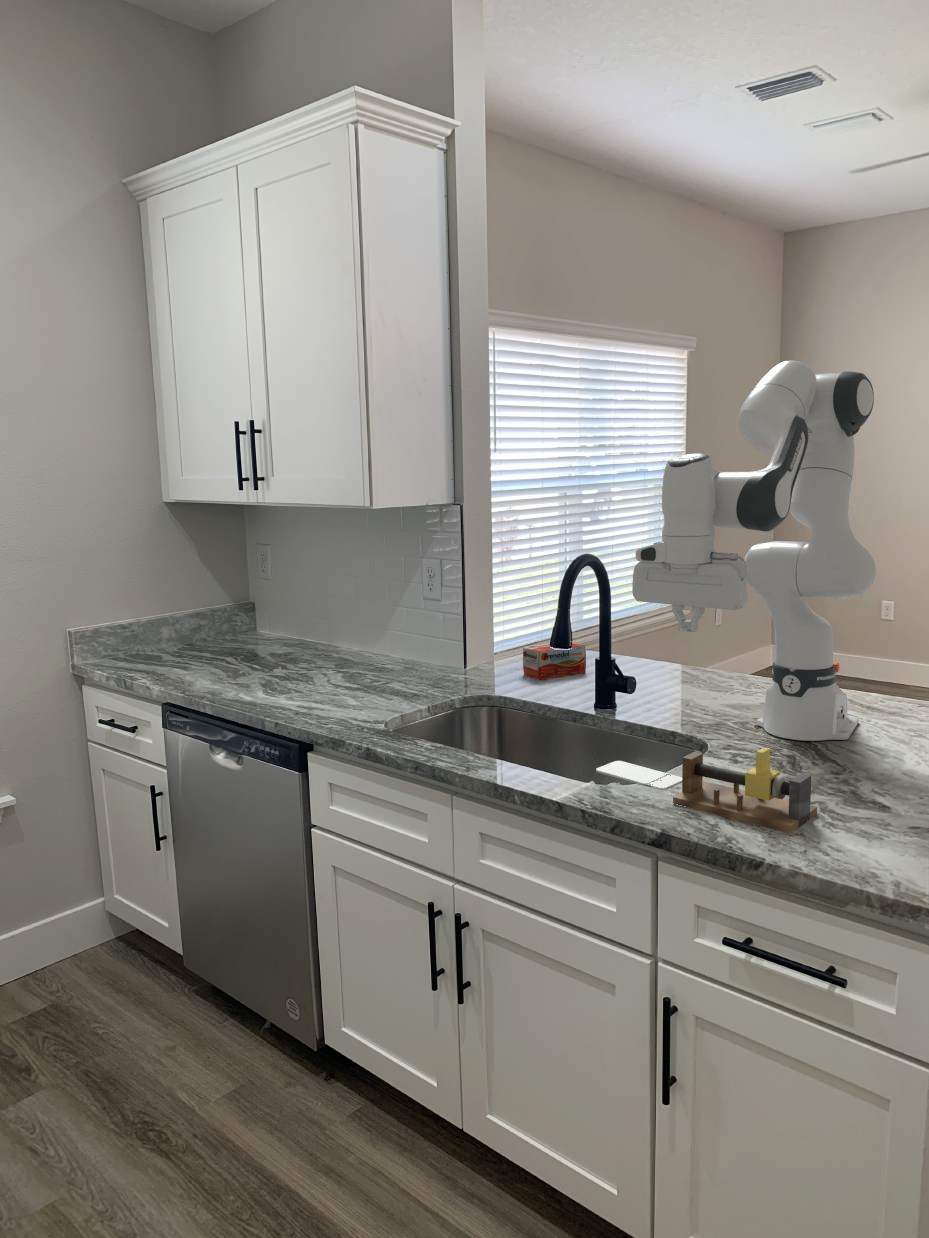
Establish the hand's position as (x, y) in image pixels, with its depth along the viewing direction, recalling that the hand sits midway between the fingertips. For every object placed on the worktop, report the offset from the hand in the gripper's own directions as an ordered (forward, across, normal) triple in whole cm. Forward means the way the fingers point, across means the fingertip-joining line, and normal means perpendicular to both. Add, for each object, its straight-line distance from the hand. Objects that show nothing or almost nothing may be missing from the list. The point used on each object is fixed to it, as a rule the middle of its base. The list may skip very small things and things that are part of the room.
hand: (688, 630), depth 162 cm
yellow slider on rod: (+27, -14, +8) cm, 31 cm away
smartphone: (+27, +8, +4) cm, 29 cm away
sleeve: (+23, -17, +8) cm, 30 cm away
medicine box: (+29, +67, -53) cm, 90 cm away
